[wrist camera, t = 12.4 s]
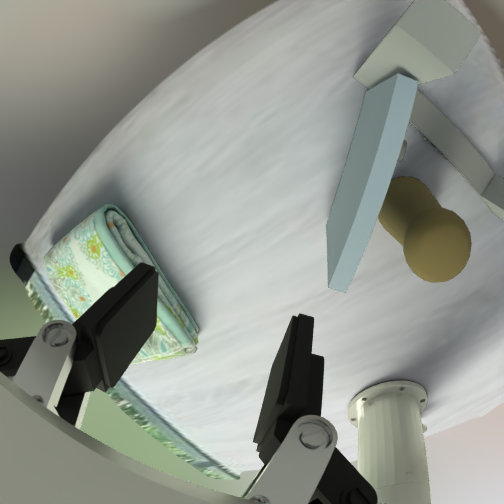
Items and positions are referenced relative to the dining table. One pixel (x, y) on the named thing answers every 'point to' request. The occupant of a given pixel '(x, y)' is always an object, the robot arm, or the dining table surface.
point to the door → (367, 175)
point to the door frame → (431, 68)
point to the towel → (117, 278)
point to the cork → (425, 230)
